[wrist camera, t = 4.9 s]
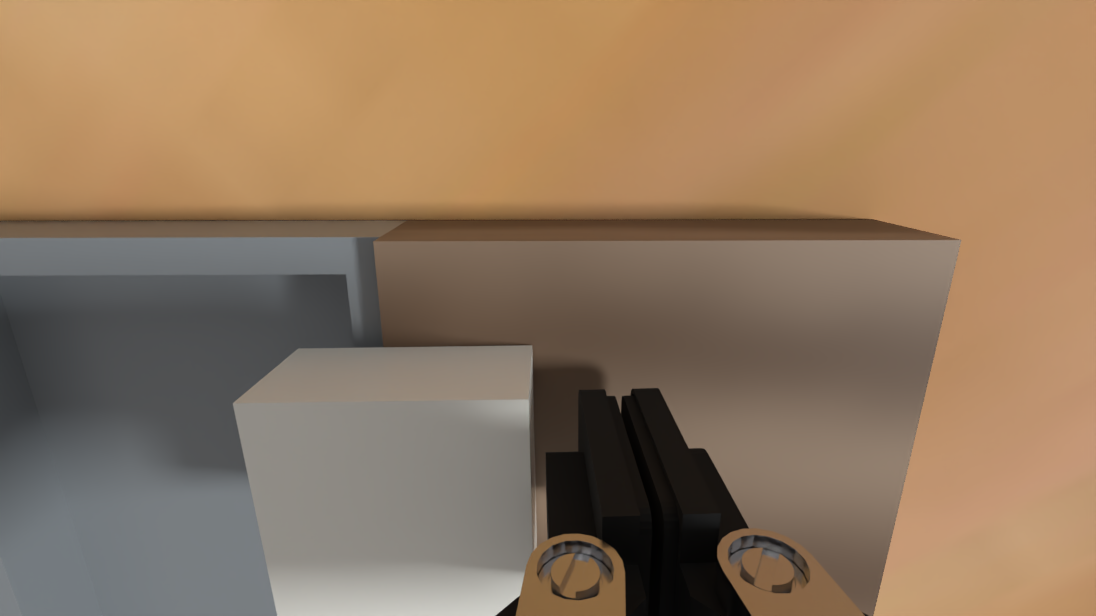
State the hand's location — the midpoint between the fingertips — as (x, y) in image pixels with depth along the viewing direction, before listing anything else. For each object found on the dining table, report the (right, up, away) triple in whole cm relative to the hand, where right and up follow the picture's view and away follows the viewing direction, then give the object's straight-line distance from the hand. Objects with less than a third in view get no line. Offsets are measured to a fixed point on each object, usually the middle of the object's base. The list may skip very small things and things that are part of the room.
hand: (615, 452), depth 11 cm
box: (-11, -3, +5) cm, 12 cm away
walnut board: (+1, -3, +5) cm, 6 cm away
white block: (-4, 0, +1) cm, 4 cm away
